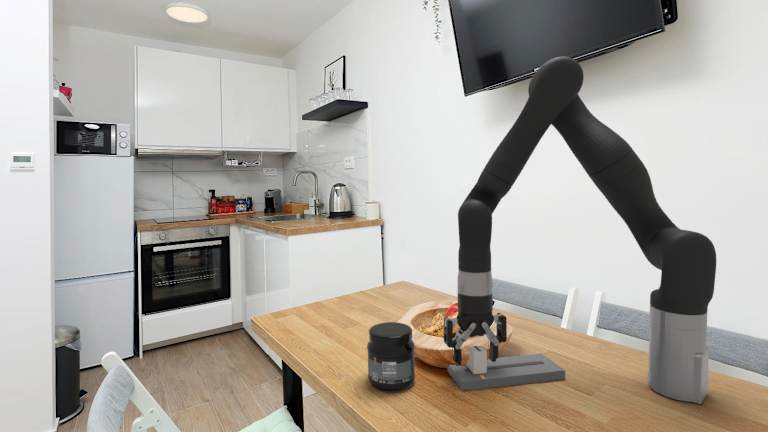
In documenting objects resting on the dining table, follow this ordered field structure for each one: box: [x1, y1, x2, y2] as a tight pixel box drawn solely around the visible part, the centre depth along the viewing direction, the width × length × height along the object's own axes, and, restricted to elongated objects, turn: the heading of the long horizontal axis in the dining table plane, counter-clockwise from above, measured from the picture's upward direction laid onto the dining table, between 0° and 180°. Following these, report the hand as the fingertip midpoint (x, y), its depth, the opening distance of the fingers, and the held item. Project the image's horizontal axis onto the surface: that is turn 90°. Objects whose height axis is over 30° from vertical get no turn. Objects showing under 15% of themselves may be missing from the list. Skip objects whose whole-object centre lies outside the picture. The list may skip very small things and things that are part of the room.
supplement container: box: [366, 321, 416, 393], centre depth 84 cm, size 10×10×12 cm
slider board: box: [447, 352, 566, 392], centre depth 86 cm, size 24×9×2 cm, turn 100°
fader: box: [466, 345, 488, 374], centre depth 84 cm, size 3×5×5 cm, turn 10°
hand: (475, 362), depth 84 cm, fingers open, 7 cm apart
